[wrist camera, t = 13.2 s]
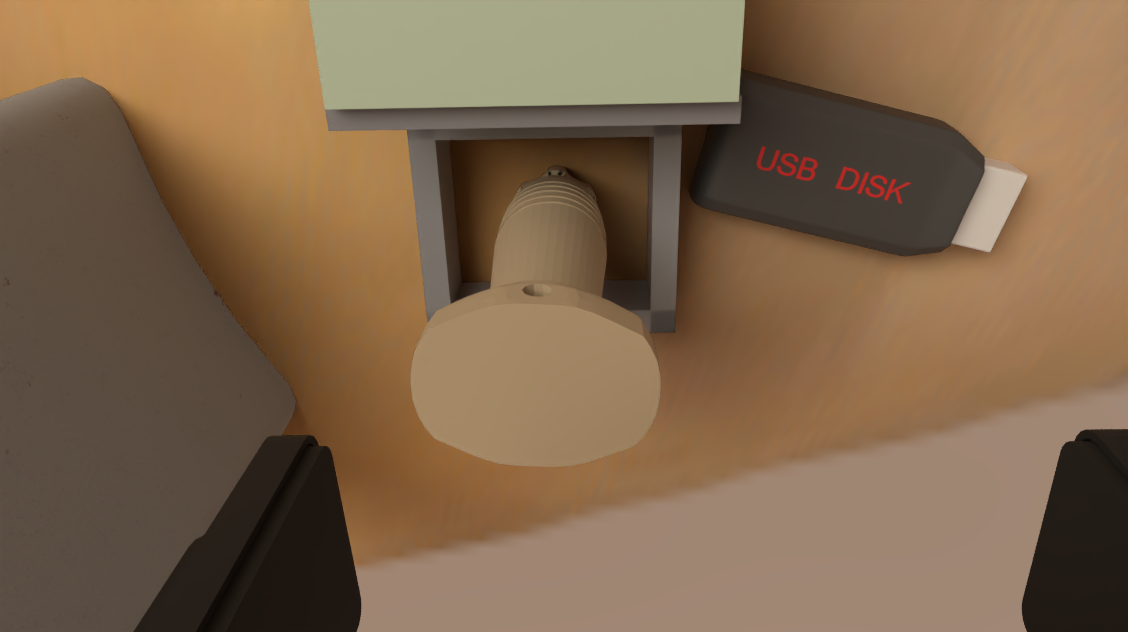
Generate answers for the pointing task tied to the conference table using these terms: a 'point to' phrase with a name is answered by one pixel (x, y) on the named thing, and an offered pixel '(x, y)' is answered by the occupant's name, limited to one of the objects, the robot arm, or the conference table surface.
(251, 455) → the flask
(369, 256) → the conference table surface
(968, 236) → the usb drive
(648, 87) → the green box on stand
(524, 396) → the handle
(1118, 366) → the conference table surface
